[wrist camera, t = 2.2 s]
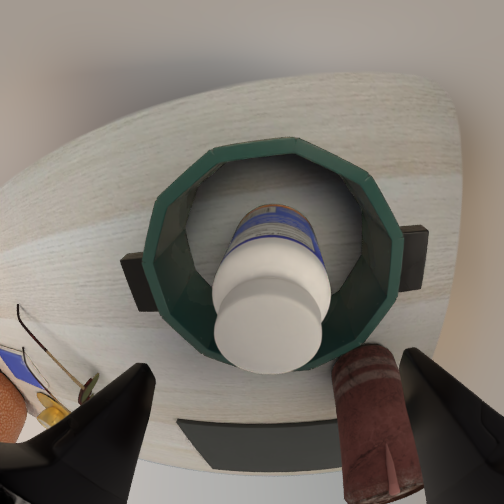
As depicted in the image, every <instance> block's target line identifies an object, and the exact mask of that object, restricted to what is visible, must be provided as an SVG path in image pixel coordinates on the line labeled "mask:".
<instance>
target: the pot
mask: <svg viewBox="0 0 504 504" xmlns="http://www.w3.org/2000/svg"><path fill="white" fill-rule="evenodd" d="M293 153H294V154H296V155H299V156H301V157H303V158H305V159H307V160H310V161H312V162H314V163H316V164H318V165H320V166H323V167H325V168H327V169H329V170H331V171H333V172H335V173H337V174H339V175H340V176H341V178H342V179H343V181H344V182H345V184H346V186H347V187H348V189H349V190H350V192H351V193H352V195H353V197H354V198H355V200H356V201H357V203H358V205H359V206H360V208H361V210H362V255H361V256H360V258H359V260H358V262H357V263H356V265H355V267H354V268H353V270H352V272H351V273H350V275H349V276H348V278H347V280H346V281H345V283H344V285H343V286H342V288H341V289H340V291H338V292H336V293H335V294H333V295H331V300H330V305H329V309H328V312H327V314H326V316H325V318H324V320H323V321H322V322H321V327H322V339H321V344H320V347H319V349H318V351H317V353H316V354H315V355H314V357H313V358H312V359H311V360H310V361H309V362H307V363H306V364H305V365H303V366H301V367H300V368H298V369H295V370H293V371H304V370H311V368H312V369H314V368H316V367H318V366H321V365H323V364H325V363H327V362H329V361H331V360H333V359H335V358H337V357H339V356H341V355H343V354H345V353H347V352H349V351H351V350H353V349H355V348H356V347H358V346H360V345H361V343H362V344H363V343H364V342H365V341H366V339H367V338H368V337H369V336H370V334H371V333H372V332H373V330H374V329H375V328H376V327H377V325H378V324H379V323H380V321H381V320H382V319H383V317H384V316H385V315H386V313H387V312H388V311H389V309H390V308H391V307H392V305H393V304H394V302H395V301H396V298H397V297H398V293H399V292H405V291H411V290H418V289H421V286H422V280H423V274H424V268H425V261H426V253H427V245H428V235H429V231H428V230H427V229H426V228H425V227H423V226H422V225H412V226H400V227H399V225H398V223H397V221H396V219H395V217H394V215H393V213H392V211H391V209H390V207H389V206H388V204H387V202H386V200H385V198H384V196H383V195H382V193H381V191H380V189H379V188H378V186H377V184H376V182H375V181H374V179H373V177H372V176H371V175H369V173H368V172H367V171H365V170H363V169H361V168H359V167H358V166H356V165H354V164H352V163H350V162H348V161H346V160H344V159H342V158H340V157H338V156H336V155H334V154H332V153H330V152H328V151H326V150H324V149H322V148H320V147H318V146H316V145H313V144H311V143H309V142H307V141H305V140H302V139H300V138H295V137H281V138H272V139H264V140H256V141H249V142H242V143H236V144H230V145H225V146H221V147H216V148H213V149H211V150H209V151H208V152H207V153H205V154H204V155H203V156H202V157H201V158H200V159H198V160H197V161H196V162H195V163H194V164H193V165H192V166H191V167H189V168H188V169H187V170H186V171H185V172H184V173H183V174H182V175H181V176H179V177H178V178H177V179H176V180H175V181H174V182H173V183H172V184H171V185H170V186H169V187H168V188H167V189H166V190H164V191H163V192H162V193H161V194H160V195H159V196H158V197H157V200H156V201H155V204H154V208H153V212H152V216H151V220H150V224H149V228H148V233H147V237H146V242H145V247H144V251H143V252H138V253H129V254H127V255H125V256H124V257H123V258H122V259H121V260H120V263H121V266H122V268H123V271H124V274H125V277H126V280H127V282H128V285H129V288H130V290H131V293H132V295H133V298H134V300H135V303H136V305H137V308H138V310H139V312H159V313H160V316H162V318H163V319H164V320H165V321H166V322H167V323H168V324H169V325H170V326H171V327H172V328H173V329H174V330H175V331H176V332H177V333H179V334H180V335H181V336H182V337H183V338H184V339H185V340H186V341H187V342H188V343H189V344H191V345H192V346H193V347H194V348H195V349H196V350H197V351H198V352H200V353H201V354H203V355H204V356H207V357H209V358H212V359H215V360H218V361H221V362H223V363H226V364H229V365H232V366H235V365H234V364H232V363H231V362H230V361H228V360H227V359H226V358H225V357H224V356H223V355H222V353H221V352H220V350H219V349H218V347H217V345H216V342H215V338H214V327H215V322H216V319H217V313H216V310H215V307H214V304H213V298H212V288H211V287H210V285H209V284H208V283H207V282H206V281H205V280H204V279H203V278H202V277H201V276H200V275H199V274H198V272H197V271H196V270H195V267H194V263H193V260H192V256H191V252H190V248H189V244H188V239H187V235H186V231H185V226H186V223H187V220H188V217H189V213H190V210H191V207H192V204H193V201H194V198H195V195H196V192H197V189H198V186H199V185H200V184H201V183H202V182H204V181H205V180H206V179H207V178H208V177H210V176H211V175H212V174H213V173H214V172H216V171H217V170H218V169H219V168H220V167H222V166H223V165H224V164H225V163H227V162H230V161H236V160H243V159H250V158H258V157H265V156H274V155H283V154H293ZM235 367H237V366H235ZM238 368H239V367H238ZM290 372H291V371H290Z"/></svg>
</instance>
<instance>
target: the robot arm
mask: <svg viewBox="0 0 504 504" xmlns="http://www.w3.org/2000/svg"><path fill="white" fill-rule="evenodd" d="M399 373H400V378H401V383H402V388H403V394H404V400H405V406H406V410H407V414H408V418H409V421H410V425H411V429H412V433H413V437H414V441H415V445H416V449H417V454H418V458H419V463H420V468H421V473H422V478H423V483H424V489H425V495H426V501H427V504H504V417H503V416H502V415H500V414H499V413H498V412H496V411H495V410H494V409H492V408H491V407H490V406H489V405H487V404H486V403H485V402H484V401H482V400H481V399H480V398H479V397H478V396H477V395H475V394H474V393H473V392H472V391H470V390H469V389H468V388H467V387H465V386H464V385H463V384H462V383H461V382H459V381H458V380H457V379H456V378H454V377H453V376H452V375H450V374H449V373H448V372H447V371H445V370H444V369H443V368H442V367H440V366H439V365H438V364H437V363H435V362H434V361H433V360H432V359H430V358H429V357H428V356H426V355H425V354H424V353H423V352H421V351H420V350H419V349H417V348H415V347H412V348H408V349H405V350H404V352H403V355H402V358H401V361H400V365H399ZM155 385H156V379H155V376H154V375H153V373H152V371H151V369H150V367H149V366H148V365H147V364H146V363H136V364H134V365H133V366H132V367H130V368H129V369H128V370H127V371H125V372H124V373H123V374H121V375H120V376H119V377H117V378H116V379H115V380H114V381H112V382H111V383H110V384H108V385H107V386H106V387H104V388H103V389H102V390H101V391H99V392H98V393H97V394H95V395H94V396H93V397H91V398H90V399H89V400H87V401H86V402H85V403H83V404H82V405H81V406H79V407H78V408H77V409H76V410H74V411H73V412H72V413H70V414H69V415H67V416H66V417H65V418H63V419H62V420H61V421H59V422H58V423H56V424H55V425H53V426H52V427H50V428H48V429H47V430H45V431H43V432H42V433H40V434H38V435H37V436H35V437H33V438H32V439H30V440H28V441H26V442H23V443H5V442H0V504H127V500H128V496H129V491H130V487H131V483H132V479H133V475H134V471H135V467H136V464H137V460H138V456H139V452H140V449H141V445H142V441H143V438H144V434H145V431H146V427H147V424H148V420H149V417H150V412H151V406H152V401H153V395H154V390H155Z"/></svg>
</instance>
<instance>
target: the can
mask: <svg viewBox="0 0 504 504" xmlns="http://www.w3.org/2000/svg"><path fill="white" fill-rule="evenodd" d="M332 383H333V390H334V397H335V405H336V413H337V421H338V430H339V439H340V450H341V461H342V473H343V486H344V487H343V488H344V499H345V501H346V502H347V503H348V504H387V503H390V502H394V501H396V500H399V499H402V498H405V497H407V496H409V495H412V494H414V493H416V492H418V491H420V490H421V489H423V488H424V483H423V478H422V473H421V468H420V463H419V458H418V454H417V449H416V445H415V441H414V437H413V433H412V429H411V425H410V421H409V418H408V414H407V410H406V406H405V400H404V394H403V388H402V383H401V378H400V373H399V370H398V367H397V365H396V362H395V359H394V357H393V354H392V353H391V352H390V351H389V350H388V349H387V348H385V347H382V346H380V345H377V344H365V345H360V346H358V347H356V348H355V349H353V350H351V351H349V352H347V353H345V354H343V355H342V356H341V357H340V358H339V359H338V360H337V362H336V363H335V365H334V367H333V369H332Z"/></svg>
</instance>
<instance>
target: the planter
mask: <svg viewBox="0 0 504 504" xmlns="http://www.w3.org/2000/svg"><path fill="white" fill-rule="evenodd" d="M26 417H27V408H26V404H25V401H24V398H23V397H22V395H21V394H20V392H19V391H18V390H17V388H16V387H15V386H14V385H13V384H12V383H11V382H10V380H9V379H8V378H7V377H6V376H5V375H4V374H3V373H1V372H0V442H5V443H16V441H17V439H18V437H19V434H20V432H21V430H22V428H23V426H24V423H25V420H26Z"/></svg>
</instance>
